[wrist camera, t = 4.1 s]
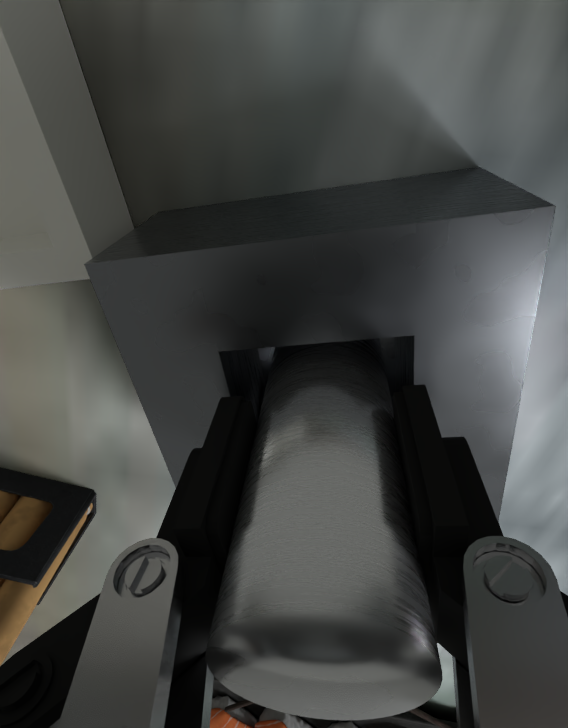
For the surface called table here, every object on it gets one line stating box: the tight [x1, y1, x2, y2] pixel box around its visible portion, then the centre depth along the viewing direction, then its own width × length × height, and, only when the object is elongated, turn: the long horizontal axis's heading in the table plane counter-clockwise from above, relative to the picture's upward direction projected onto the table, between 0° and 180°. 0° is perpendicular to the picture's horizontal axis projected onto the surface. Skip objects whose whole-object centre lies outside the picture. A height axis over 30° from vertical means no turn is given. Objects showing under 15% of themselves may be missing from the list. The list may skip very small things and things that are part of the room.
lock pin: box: [205, 338, 442, 720], centre depth 11 cm, size 4×4×10 cm
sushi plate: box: [210, 631, 457, 728], centre depth 30 cm, size 29×30×4 cm
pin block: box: [84, 167, 556, 520], centre depth 14 cm, size 10×10×5 cm
